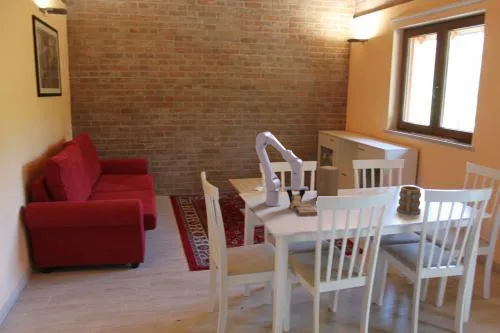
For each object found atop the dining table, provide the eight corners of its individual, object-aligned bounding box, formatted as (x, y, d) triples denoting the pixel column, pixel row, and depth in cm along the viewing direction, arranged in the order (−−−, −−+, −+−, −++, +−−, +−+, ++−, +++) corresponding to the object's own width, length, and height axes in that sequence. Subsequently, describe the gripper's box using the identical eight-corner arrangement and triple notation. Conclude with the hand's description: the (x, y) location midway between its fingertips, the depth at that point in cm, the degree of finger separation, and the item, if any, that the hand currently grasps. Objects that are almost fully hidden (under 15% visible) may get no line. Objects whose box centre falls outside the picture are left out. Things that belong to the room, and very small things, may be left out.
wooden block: (315, 197, 287) (317, 166, 283) (326, 195, 293) (328, 165, 289) (327, 200, 280) (328, 169, 276) (338, 198, 285) (340, 167, 281)
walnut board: (290, 204, 270) (290, 201, 269) (306, 204, 271) (306, 201, 271) (299, 215, 249) (300, 212, 248) (317, 215, 250) (317, 211, 250)
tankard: (399, 207, 270) (401, 182, 267) (421, 210, 264) (423, 185, 261) (393, 215, 252) (395, 190, 249) (416, 219, 246) (419, 193, 243)
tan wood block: (290, 206, 265) (290, 193, 264) (298, 206, 266) (298, 193, 264) (292, 208, 260) (292, 196, 259) (300, 208, 261) (300, 195, 260)
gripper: (285, 181, 255) (284, 204, 258) (310, 181, 257) (309, 203, 260) (282, 178, 262) (282, 201, 264) (306, 178, 264) (305, 200, 267)
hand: (295, 202), depth 263 cm, fingers closed on tan wood block, 5 cm apart
